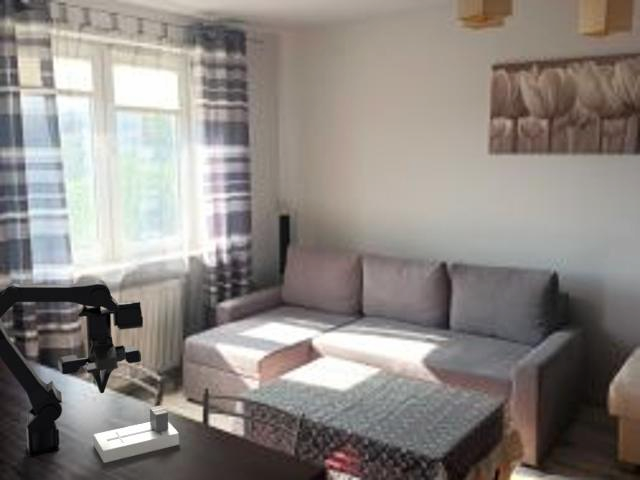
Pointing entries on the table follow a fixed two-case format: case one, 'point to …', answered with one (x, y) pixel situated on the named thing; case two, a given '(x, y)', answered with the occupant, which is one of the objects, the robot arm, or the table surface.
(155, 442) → the console
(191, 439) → the table surface
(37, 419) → the robot arm
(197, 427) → the table surface
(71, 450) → the table surface
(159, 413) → the fader
